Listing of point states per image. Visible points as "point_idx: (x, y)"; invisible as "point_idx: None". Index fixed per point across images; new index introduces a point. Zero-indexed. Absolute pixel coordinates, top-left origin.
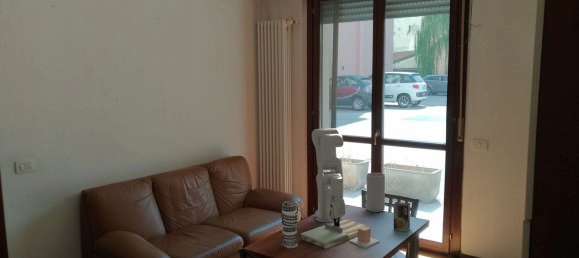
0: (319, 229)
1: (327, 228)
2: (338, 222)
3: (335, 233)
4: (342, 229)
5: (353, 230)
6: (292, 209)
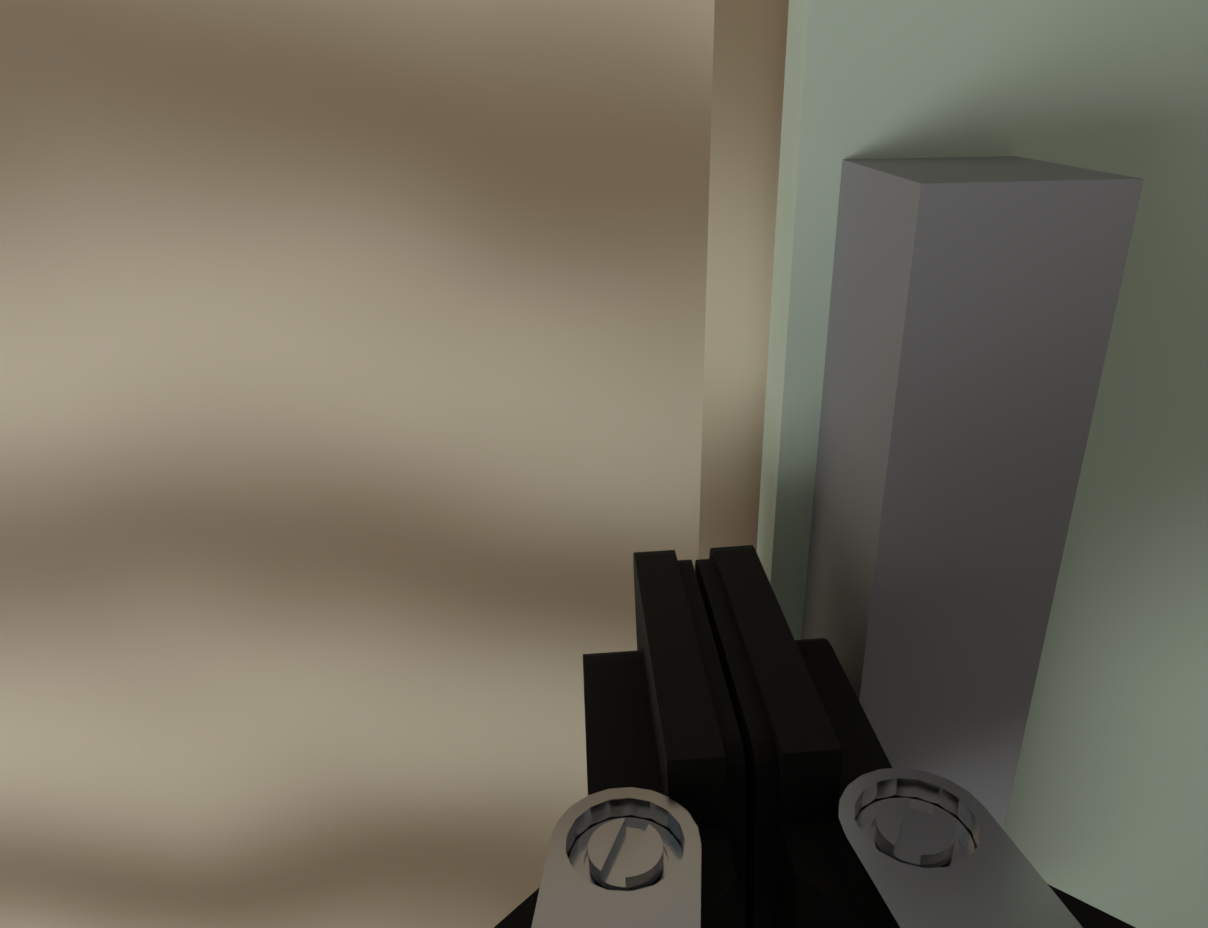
0: (1141, 916)
1: None
2: (781, 728)
3: (1180, 284)
4: (896, 171)
5: (63, 144)
6: None
